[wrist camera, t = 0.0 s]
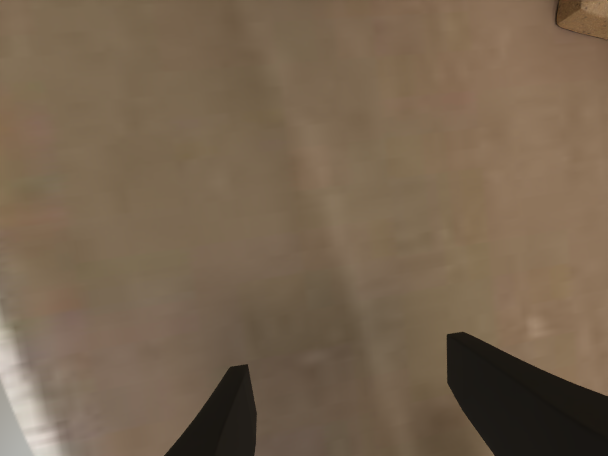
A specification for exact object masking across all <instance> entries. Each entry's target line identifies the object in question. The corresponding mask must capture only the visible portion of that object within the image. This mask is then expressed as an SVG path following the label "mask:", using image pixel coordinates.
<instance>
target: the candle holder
mask: <svg viewBox="0 0 608 456" xmlns="http://www.w3.org/2000/svg"><path fill="white" fill-rule="evenodd" d="M556 19H557V25H559V26H560V27H561V28H565V29H568V30H571V31H575V32H578V33H582V34H586V35H591V36H595V37H600V38H604V39H608V0H559V6H558V12H557V18H556Z"/></svg>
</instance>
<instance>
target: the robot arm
mask: <svg viewBox="0 0 608 456" xmlns="http://www.w3.org/2000/svg"><path fill="white" fill-rule="evenodd" d="M447 383H448V385H449V387H450V389H451V390H452V392H453V394H454V396H455V398H456V400H457V401H458V403H459V405H460V407H461V408H462V410H463V412H464V413H465V415H466V416H467V417H468V419H469V420H470V422H471V423H472V424H473V426H474V427H475V429H476V430H477V431H478V433H479V434H480V436H481V437H482V438H483V440H484V441H485V443H486V444H487V445H488V447H489V448H490V450H491V451H492V452H493V454H494V455H495V456H608V396H605V395H603V394H600V393H597V392H595V391H592V390H589V389H587V388H584V387H581V386H579V385H576V384H574V383H571V382H569V381H566V380H564V379H562V378H559V377H557V376H555V375H552V374H550V373H548V372H546V371H543V370H541V369H539V368H537V367H535V366H532V365H530V364H528V363H526V362H524V361H522V360H520V359H518V358H516V357H514V356H512V355H510V354H508V353H506V352H504V351H502V350H500V349H498V348H496V347H494V346H492V345H490V344H488V343H486V342H484V341H482V340H480V339H478V338H476V337H474V336H471V335H469V334H467V333H465V332H459V333H452V334H447ZM256 419H257V412H256V407H255V401H254V396H253V390H252V385H251V380H250V374H249V369H248V364H246V365H240V366H233V367H230V368H229V369H228V371H227V372H226V374H225V375H224V377H223V378H222V380H221V381H220V383H219V384H218V386H217V387H216V389H215V390H214V392H213V393H212V395H211V396H210V398H209V399H208V401H207V402H206V403H205V405H204V406H203V408H202V409H201V410H200V412H199V413H198V415H197V416H196V417H195V419H194V420H193V421H192V422H191V424H190V425H189V426H188V428H187V429H186V430H185V431H184V433H183V434H182V435H181V437H180V438H179V439H178V440H177V441H176V443H175V444H174V445H173V446H172V447H171V448H170V450H169V451H168V452H167V453H166V454H165V455H164V456H254V453H255V446H256Z"/></svg>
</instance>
